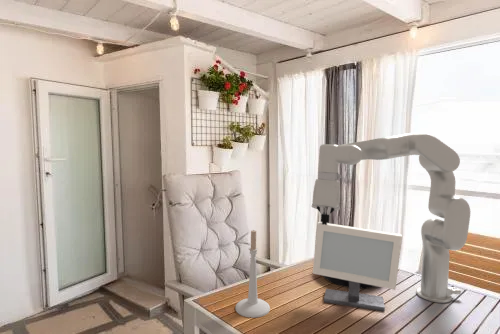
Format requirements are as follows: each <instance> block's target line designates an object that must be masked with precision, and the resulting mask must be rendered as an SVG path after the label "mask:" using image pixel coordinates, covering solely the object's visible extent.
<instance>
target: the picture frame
mask: <svg viewBox="0 0 500 334" xmlns="http://www.w3.org/2000/svg"><path fill="white" fill-rule="evenodd" d="M402 242H403V235H402V234H401V233H396V232H395V233H394V232H388V231H381V230H375V229H369V228H362V227H355V226H349V225H343V224H342V225H341V224H337V223H336V224H335V223H331V222H329V223H328V222H327V225H325V223H324V225H323V224H322V222H321V221H318V222H317V226H316V235H315V245H314V255H313V263H312V264H313V266H312V274H314V275H319V276H322V275H323V276H328V277H333V278H338V279H343V280H348V281H353V282H358V283H363V284H368V285H373V286H376V287H379V288H385V289H389V290H396V288H397V279H398V272H399V265H400V256H401V249H402Z"/></svg>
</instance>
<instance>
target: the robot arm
mask: <svg viewBox="0 0 500 334" xmlns="http://www.w3.org/2000/svg"><path fill="white" fill-rule="evenodd" d="M318 151H319V153H318V164H317V165H318V166H317V169H318V170H317V178H316V179H315V182H314V186H313V191H312V203H311V208H314V209H315V210H317V211H318V212H319V213H320V222H322V224H323V225H324V223H325V225H327V223H330V214H331V213H333V212H335V211H340V210H341V205H340V204H341V181H340V180H339V179H343V178H342V177H343V175H342V174H340V173H339V168H340V167H339V165H340V164H344V165H347V166H348V165H349V166H354V165H357V164H359V163H360V162H361V161H364V160H377V161H378V160H379V161H380V160H390V159H396V158H401V157H406V156H407V157H408V156H418V161H419V164H420V166H421V168H423V169H424V170H426V172H427V173H428V175H429V177H430V188H429V197H428V211H429V212H430V213H431V214H432V215H433V216H436V217H440V218H441V219H438V218H429V219H427V220H425V221H424V222H423V223H422V225H421V230H420V233H421V240H422V257H421V261H422V262H421V276H420V286H419V287H417V288H416V295H418V297H420V298H422V299H424V300H426V301H428V302H429V301H430V302H433V303H439V304H443V303H444V304H445V303H449V302H451V301H452V297H453V296H452V295H461V294H462V291H461V290H460V289H458V288H457V289H456V288H455V287H453V286H449V273H450V272H449V270H450V251H459V250H461V249H462V248H463V247H464V246H466V245H465V244H466V242H467V240H468V234H469V227H470V220H471V206H470V204H469V203H468V201H467V200H465V198H463V197H461V196H456V177H455V173H454V171H456V170H457V169H459V167H460V163H461V158H460V155H459V154H458V153H457V151H455V150H454V149H453V148H451V147H450V146H448V145H447V144H446V143H445V142H443V141H441V140H440V139H439V138H437V137H436V136H435V135H432V134H430V133H428V132H411V133H410V132H409V133H404V134H403V133H401V134H398V135H397V134H395V135H392V136H391V135H390V136H385V137H384V136H383V137H378V138H373V139H369V140H368V139H367V140H362V141H356V142H355V141H354V142H351V143H350V142H349V143H344V144H339V145H338V144H329V143H328V144H327V143H325V144H324V143H323V144H321V145H320V146H319V149H318ZM325 207H326V208H327V210H326V211H325ZM442 219H443V220H442Z"/></svg>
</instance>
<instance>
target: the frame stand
mask: <svg viewBox="0 0 500 334" xmlns="http://www.w3.org/2000/svg"><path fill="white" fill-rule="evenodd" d="M360 289H361V288H360V283H358V282H353V281H349V287H348V291H345V290H338V289H330V288H326V289H325V292H324V297H323V302H324V303H327V304H328V303H329V304H335V305H340V306H347V307H354V308H360V309H361V308H362V309H367V310H372V311H373V310H374V311H379V312H380V311H381V312H385V310H386V307H385V302H384V297H383V296H381V295H374V294H368V293H360Z"/></svg>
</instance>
